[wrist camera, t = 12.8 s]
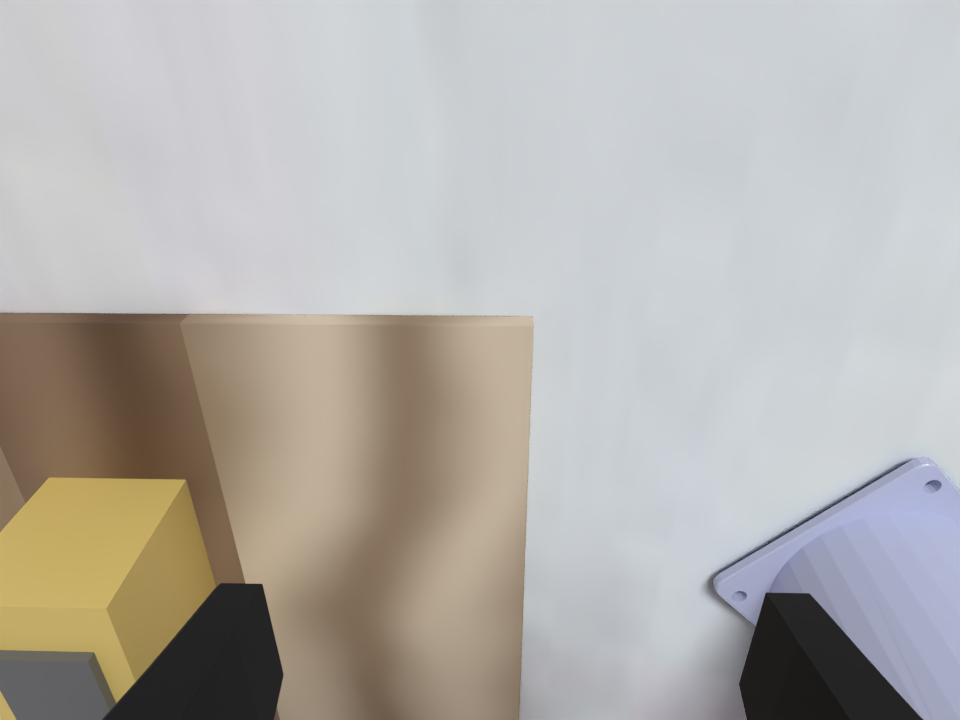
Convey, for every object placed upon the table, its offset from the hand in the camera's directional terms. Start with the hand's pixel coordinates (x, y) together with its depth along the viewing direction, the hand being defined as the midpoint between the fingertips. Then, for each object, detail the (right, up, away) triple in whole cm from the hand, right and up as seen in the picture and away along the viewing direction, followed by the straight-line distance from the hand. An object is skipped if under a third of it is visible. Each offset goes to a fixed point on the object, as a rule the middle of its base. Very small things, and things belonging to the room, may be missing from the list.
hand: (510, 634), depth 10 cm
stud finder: (-12, -4, +14) cm, 19 cm away
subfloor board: (-8, -3, +14) cm, 17 cm away
